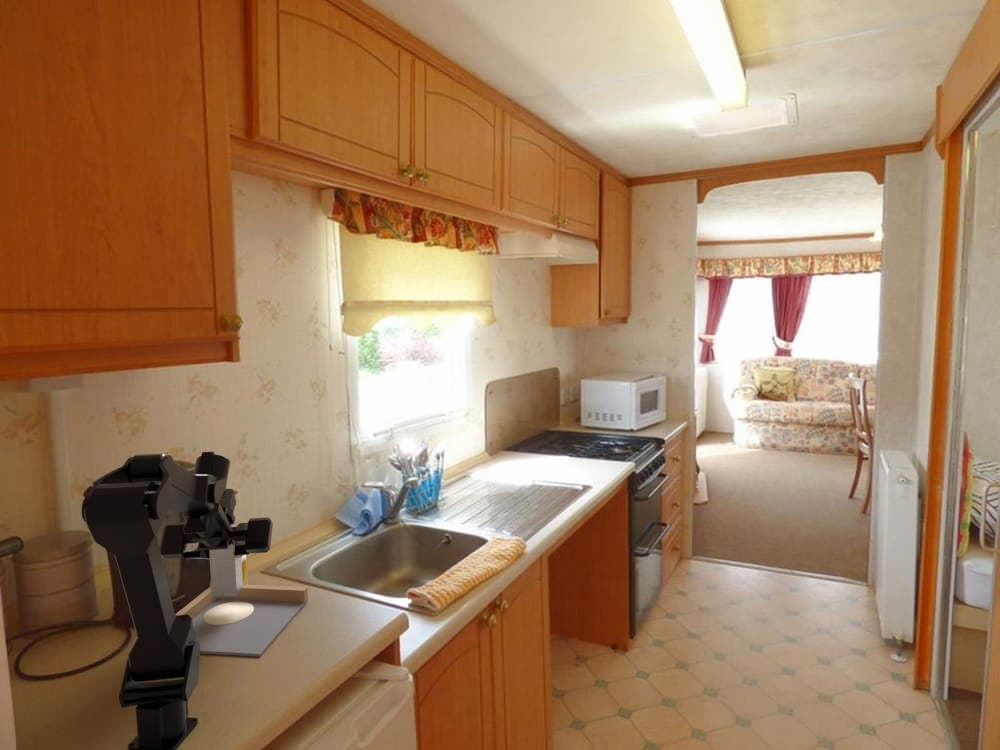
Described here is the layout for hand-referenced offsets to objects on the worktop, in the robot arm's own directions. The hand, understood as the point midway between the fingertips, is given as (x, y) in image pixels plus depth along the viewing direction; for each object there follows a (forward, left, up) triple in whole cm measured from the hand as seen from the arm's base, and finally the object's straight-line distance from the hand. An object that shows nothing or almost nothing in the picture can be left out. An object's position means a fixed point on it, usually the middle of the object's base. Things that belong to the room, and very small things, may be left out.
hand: (227, 555), depth 119 cm
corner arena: (-4, -3, -12) cm, 13 cm away
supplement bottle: (+10, +5, -12) cm, 16 cm away
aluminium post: (-1, 0, -7) cm, 7 cm away
